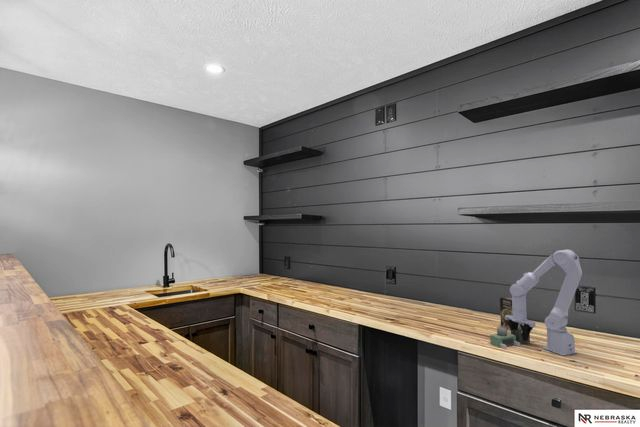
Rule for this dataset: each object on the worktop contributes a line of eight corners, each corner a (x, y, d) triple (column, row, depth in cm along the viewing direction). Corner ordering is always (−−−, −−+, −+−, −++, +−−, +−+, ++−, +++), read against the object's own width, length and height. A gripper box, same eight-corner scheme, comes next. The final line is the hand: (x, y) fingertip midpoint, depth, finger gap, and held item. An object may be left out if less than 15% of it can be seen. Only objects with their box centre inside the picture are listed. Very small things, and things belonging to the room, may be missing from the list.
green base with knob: (520, 346, 154) (520, 330, 154) (504, 349, 151) (503, 333, 151) (506, 341, 161) (506, 326, 161) (490, 343, 158) (489, 328, 158)
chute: (520, 339, 163) (520, 328, 163) (530, 342, 159) (529, 331, 159) (511, 340, 161) (510, 330, 161) (520, 344, 157) (519, 333, 157)
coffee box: (500, 327, 182) (499, 297, 183) (509, 326, 185) (508, 296, 185) (515, 332, 174) (514, 300, 174) (524, 330, 176) (523, 299, 177)
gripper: (500, 306, 166) (500, 335, 165) (526, 313, 152) (527, 344, 152) (511, 305, 168) (511, 333, 168) (538, 312, 155) (539, 342, 154)
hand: (520, 338), depth 160 cm, fingers closed on chute, 5 cm apart
